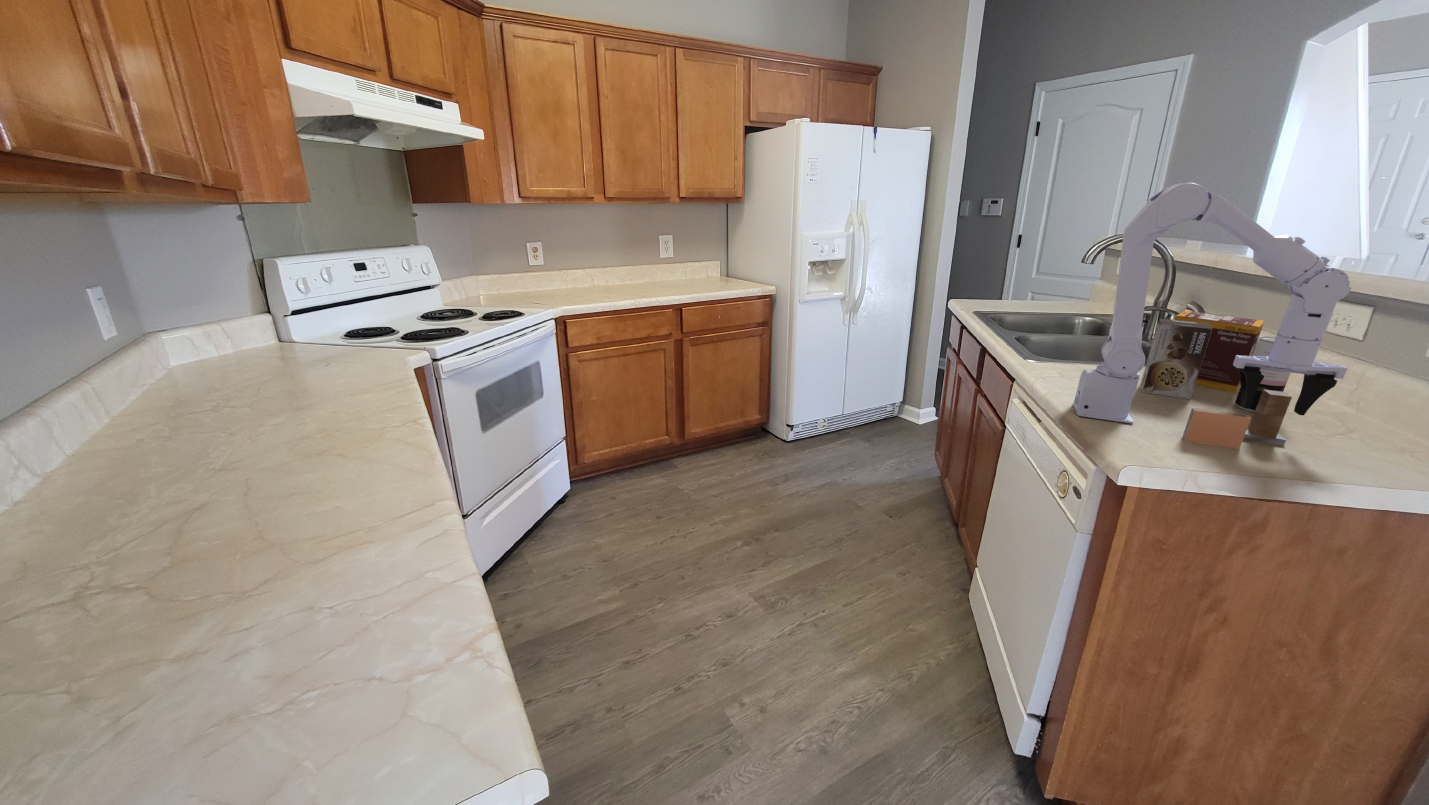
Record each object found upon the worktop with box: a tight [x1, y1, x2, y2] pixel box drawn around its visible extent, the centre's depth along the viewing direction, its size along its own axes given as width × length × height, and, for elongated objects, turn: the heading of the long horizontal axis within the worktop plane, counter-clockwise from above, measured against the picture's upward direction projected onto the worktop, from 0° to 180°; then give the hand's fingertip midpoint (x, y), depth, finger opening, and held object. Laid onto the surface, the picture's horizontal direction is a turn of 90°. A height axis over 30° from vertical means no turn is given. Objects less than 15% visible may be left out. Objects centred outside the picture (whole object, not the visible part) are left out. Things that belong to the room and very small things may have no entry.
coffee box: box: [1139, 318, 1212, 400], centre depth 128 cm, size 9×6×16 cm
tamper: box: [1243, 389, 1293, 447], centre depth 104 cm, size 6×3×9 cm, turn 66°
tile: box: [1181, 407, 1252, 450], centre depth 103 cm, size 8×2×6 cm, turn 66°
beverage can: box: [1234, 335, 1291, 413], centre depth 119 cm, size 6×6×15 cm
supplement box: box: [1173, 310, 1265, 393], centre depth 137 cm, size 10×15×16 cm
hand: (1271, 410), depth 104 cm, fingers open, 7 cm apart
